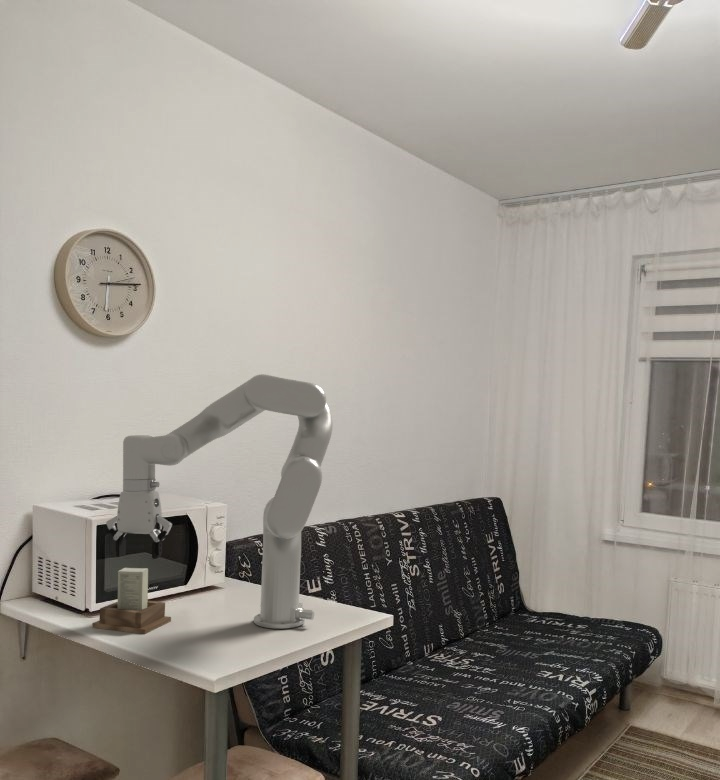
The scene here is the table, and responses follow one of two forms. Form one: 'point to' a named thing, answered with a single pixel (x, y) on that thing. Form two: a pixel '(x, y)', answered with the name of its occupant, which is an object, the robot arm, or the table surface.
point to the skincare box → (132, 588)
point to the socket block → (132, 618)
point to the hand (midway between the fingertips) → (138, 556)
